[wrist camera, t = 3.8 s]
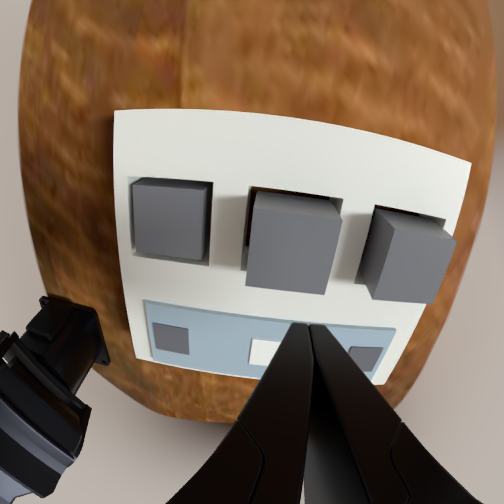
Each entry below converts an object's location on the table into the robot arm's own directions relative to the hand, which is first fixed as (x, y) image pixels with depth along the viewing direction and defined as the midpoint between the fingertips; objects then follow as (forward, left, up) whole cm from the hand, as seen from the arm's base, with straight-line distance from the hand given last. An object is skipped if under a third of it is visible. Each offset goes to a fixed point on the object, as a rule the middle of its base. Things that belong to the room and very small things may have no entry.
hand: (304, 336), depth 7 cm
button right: (0, -6, -8) cm, 10 cm away
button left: (0, +6, -10) cm, 12 cm away
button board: (-3, 0, -11) cm, 11 cm away
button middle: (0, 0, -8) cm, 8 cm away
